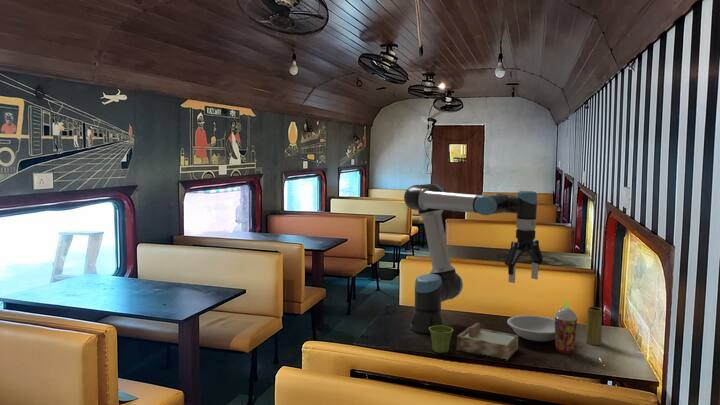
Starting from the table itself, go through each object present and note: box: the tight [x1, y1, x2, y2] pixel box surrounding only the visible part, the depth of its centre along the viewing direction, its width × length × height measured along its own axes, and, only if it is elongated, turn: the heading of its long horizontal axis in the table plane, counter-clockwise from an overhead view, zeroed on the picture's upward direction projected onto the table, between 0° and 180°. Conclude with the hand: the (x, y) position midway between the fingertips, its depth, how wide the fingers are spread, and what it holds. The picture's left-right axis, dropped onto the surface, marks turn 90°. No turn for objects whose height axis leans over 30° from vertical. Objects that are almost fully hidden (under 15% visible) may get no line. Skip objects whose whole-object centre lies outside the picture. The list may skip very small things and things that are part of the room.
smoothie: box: [553, 300, 578, 355], centre depth 203 cm, size 8×8×20 cm
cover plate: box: [464, 322, 515, 346], centre depth 204 cm, size 17×12×5 cm
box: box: [456, 327, 519, 361], centre depth 205 cm, size 20×14×6 cm
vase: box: [585, 306, 603, 346], centre depth 213 cm, size 6×6×14 cm
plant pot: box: [429, 325, 454, 354], centre depth 203 cm, size 9×9×9 cm
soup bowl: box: [506, 314, 555, 343], centre depth 218 cm, size 24×24×7 cm
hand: (523, 280), depth 213 cm, fingers open, 13 cm apart
